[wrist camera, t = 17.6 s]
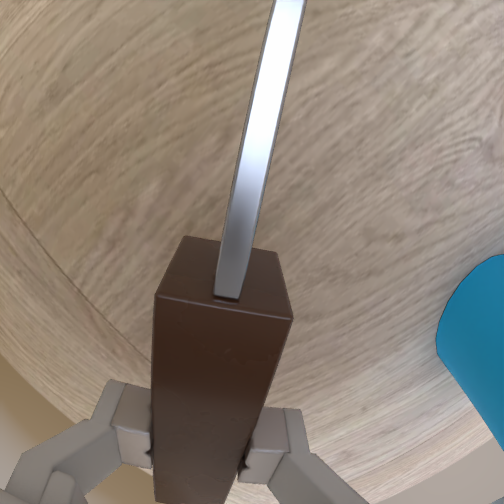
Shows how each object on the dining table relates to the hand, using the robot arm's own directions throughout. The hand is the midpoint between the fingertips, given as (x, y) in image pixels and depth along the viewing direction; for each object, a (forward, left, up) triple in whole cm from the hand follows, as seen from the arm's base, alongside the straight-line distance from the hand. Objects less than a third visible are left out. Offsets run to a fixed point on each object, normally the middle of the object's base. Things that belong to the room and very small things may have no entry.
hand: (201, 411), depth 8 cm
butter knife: (0, +6, -1) cm, 6 cm away
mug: (+18, +2, -7) cm, 19 cm away
